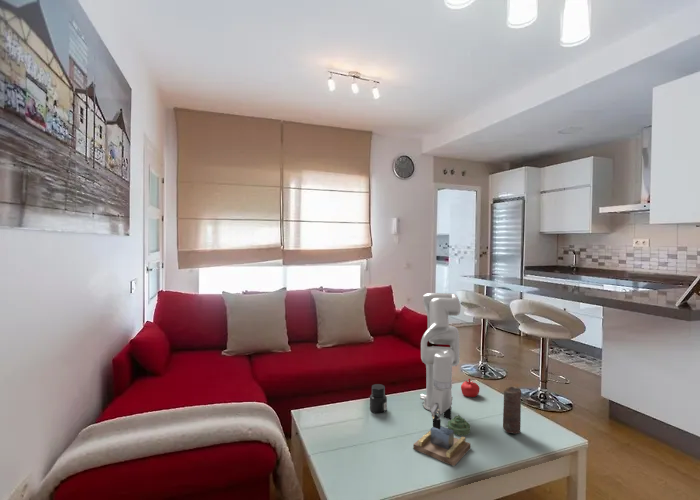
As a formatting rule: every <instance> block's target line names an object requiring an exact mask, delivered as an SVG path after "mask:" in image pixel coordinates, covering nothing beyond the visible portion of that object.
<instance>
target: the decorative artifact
mask: <svg viewBox="0 0 700 500" xmlns="http://www.w3.org/2000/svg"><path fill="white" fill-rule="evenodd" d="M447 428H448V429H451V430H454V436H455V435H456V436H461V437H464V436H468V435H470V433H471V424H470V423H469V421H467V420H466V419H465V418H463V417H462V416H461V415H460V414H458V415H455V416H454V417H452V418H451V419H450V420H449V419H448V420H447Z"/></svg>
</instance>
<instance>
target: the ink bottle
mask: <svg viewBox="0 0 700 500" xmlns="http://www.w3.org/2000/svg"><path fill="white" fill-rule="evenodd" d="M385 389H386V387H385V385H384V384H382V383H381V384H380V383H375V384H372V385H371V394H370V396H369V410H370V411H371V412H372V413H374V412H375V414H383V413H385V412H387V410H388V398H387V397H388V396H387V395H386V394H385V393H386V390H385Z"/></svg>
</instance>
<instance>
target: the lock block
mask: <svg viewBox="0 0 700 500" xmlns="http://www.w3.org/2000/svg"><path fill="white" fill-rule="evenodd" d="M430 430H431V443H432V444H435V445H437V446H440V447H442V448H445V449H447V450H449V449H450V448H451V447H452V446H453V445H454V438H455V434H454V430H451V429H448V427H446V426H442V425H441V428H440V429H437V428H434V427H433V426H432V427H431V428H430Z"/></svg>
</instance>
